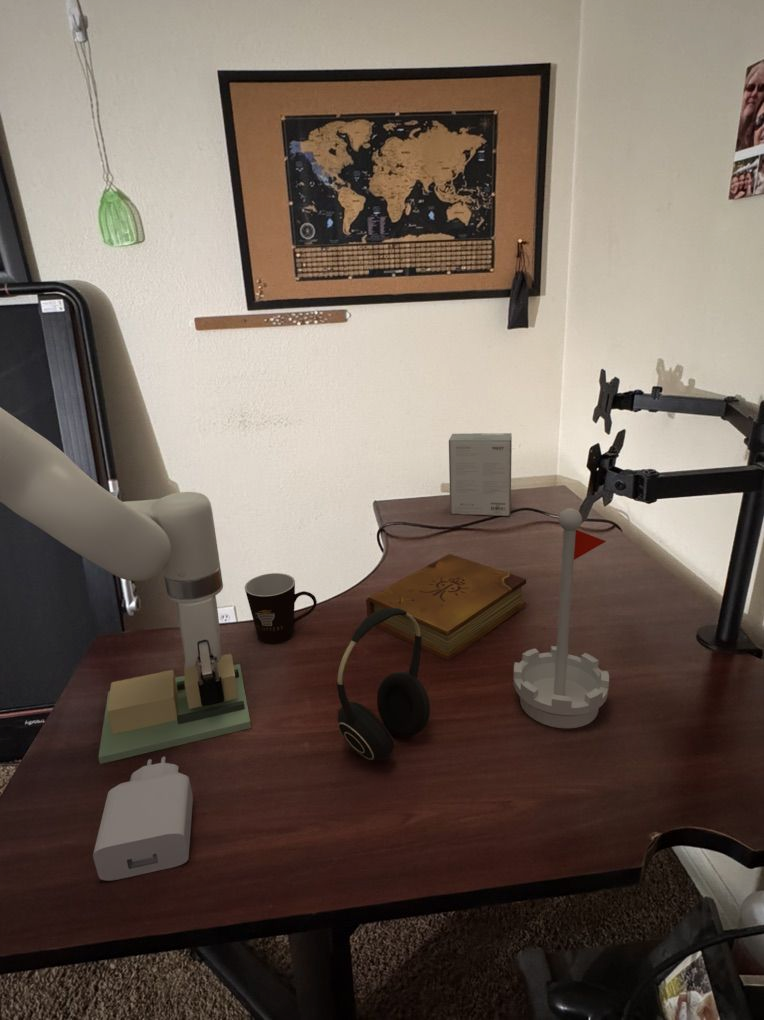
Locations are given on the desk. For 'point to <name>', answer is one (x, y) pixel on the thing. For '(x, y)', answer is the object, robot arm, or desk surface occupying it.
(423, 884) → the desk surface
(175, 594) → the robot arm
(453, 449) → the hard drive box
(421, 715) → the headphones
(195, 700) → the yellow block
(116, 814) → the charger
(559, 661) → the flag stand
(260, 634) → the coffee mug
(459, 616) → the diary
